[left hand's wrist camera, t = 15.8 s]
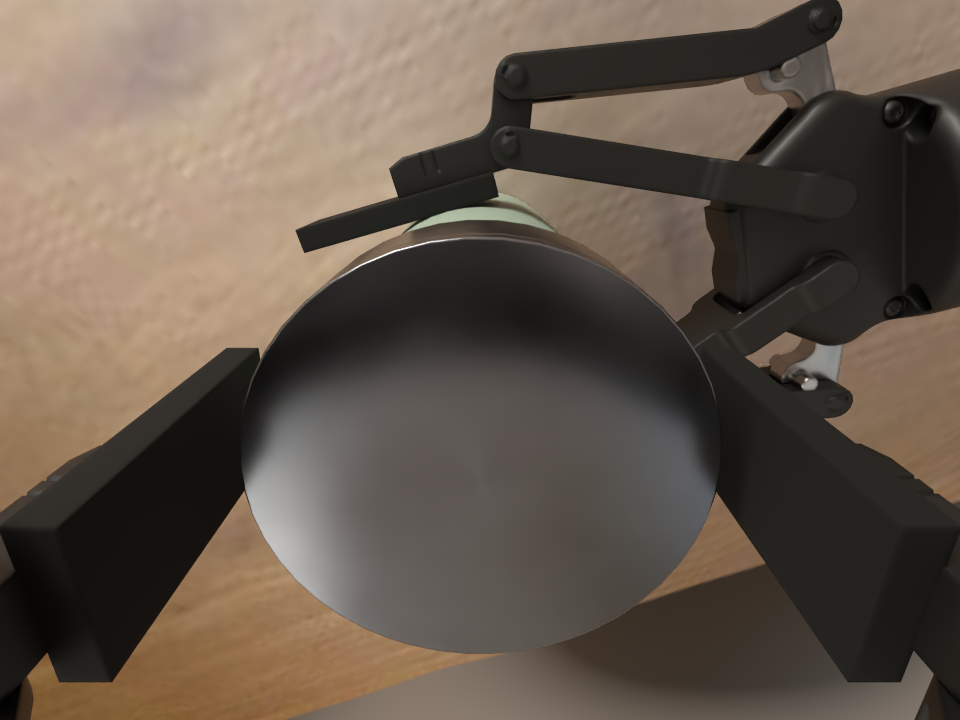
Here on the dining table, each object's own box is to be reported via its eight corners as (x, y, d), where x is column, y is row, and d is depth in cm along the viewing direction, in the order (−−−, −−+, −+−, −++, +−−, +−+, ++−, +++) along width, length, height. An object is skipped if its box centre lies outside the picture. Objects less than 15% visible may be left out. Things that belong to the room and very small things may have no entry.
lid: (268, 544, 13) (227, 619, 11) (299, 174, 10) (252, 180, 8) (612, 601, 14) (635, 682, 12) (741, 270, 11) (805, 299, 9)
